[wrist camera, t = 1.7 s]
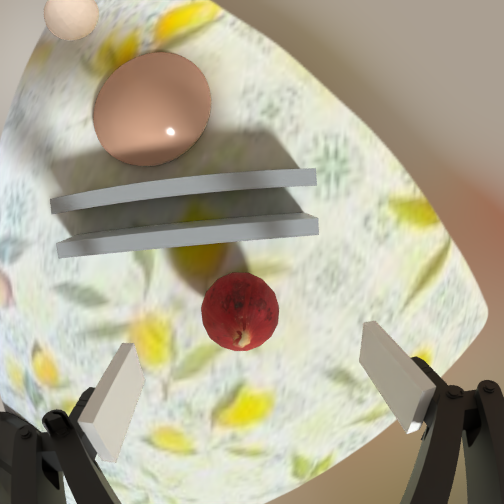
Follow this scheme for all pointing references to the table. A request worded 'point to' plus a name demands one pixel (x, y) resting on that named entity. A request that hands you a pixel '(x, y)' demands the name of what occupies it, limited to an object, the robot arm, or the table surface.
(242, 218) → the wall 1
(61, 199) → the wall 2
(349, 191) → the table surface
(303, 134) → the table surface
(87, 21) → the egg
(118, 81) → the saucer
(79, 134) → the table surface
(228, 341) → the onion
